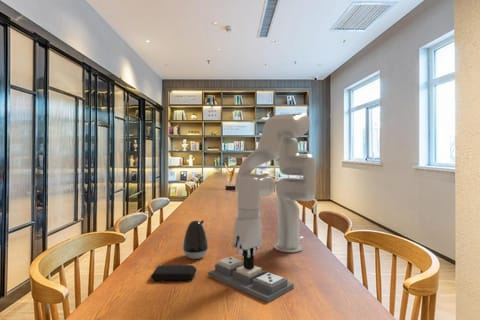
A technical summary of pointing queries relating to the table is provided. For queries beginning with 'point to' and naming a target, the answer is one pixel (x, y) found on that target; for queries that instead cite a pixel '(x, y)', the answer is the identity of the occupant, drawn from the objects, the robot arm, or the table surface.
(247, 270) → the tile one
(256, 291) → the button board
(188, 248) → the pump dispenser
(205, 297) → the table surface
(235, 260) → the tile two
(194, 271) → the carrying case or bag
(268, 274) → the tile three
